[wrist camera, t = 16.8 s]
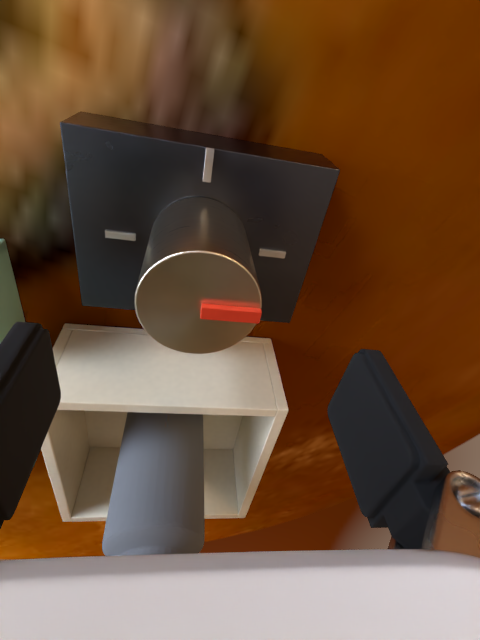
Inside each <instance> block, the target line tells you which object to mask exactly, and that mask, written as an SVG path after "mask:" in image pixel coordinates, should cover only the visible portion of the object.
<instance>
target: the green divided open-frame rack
mask: <svg viewBox="0 0 480 640" xmlns="http://www.w3.org/2000/svg"><path fill="white" fill-rule="evenodd" d="M16 322H25V318H24V314H23V310H22V306H21V302H20V298H19V294H18V290H17V286H16V282H15V278H14V274H13V270H12V266H11V262H10V258H9V254H8V250H7V246H6V242H5V239H0V343H1V342H2V341H3V339H4V338H5V336H6V335H7V333H8V332H9V331H10V329H11V328H12V326H13V325H14V324H15V323H16ZM36 460H37V459H36ZM34 465H35V464H34ZM33 467H34V466H33Z"/></svg>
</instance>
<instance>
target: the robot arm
mask: <svg viewBox="0 0 480 640" xmlns="http://www.w3.org/2000/svg"><path fill="white" fill-rule="evenodd" d="M60 400H61V390H60V385H59V380H58V374H57V369H56V364H55V359H54V354H53V349H52V344H51V339H50V334H49V331H48V329H43V327H42V325H41V324H39V323H28V322H16V323H15V324H14V325H13V326H12V328H11V329H10V331H9V332H8V333H7V335H6V336H5V338H4V339H3V341H2V342H1V343H0V528H1V526H2V524H3V521H4V520H9V519H11V517H12V516H13V514H14V512H15V510H16V507H17V505H18V502H19V500H20V498H21V495H22V493H23V490H24V488H25V486H26V483H27V481H28V478H29V476H30V474H31V471H32V469H33V466H34V464H35V462H36V459H37V457H38V454H39V452H40V449H41V447H42V445H43V442H44V440H45V437H46V435H47V433H48V430H49V428H50V425H51V423H52V421H53V418H54V416H55V413H56V411H57V409H58V406H59V403H60ZM328 417H329V420H330V423H331V426H332V428H333V431H334V434H335V437H336V440H337V443H338V446H339V449H340V452H341V455H342V457H343V460H344V463H345V466H346V469H347V472H348V475H349V478H350V481H351V484H352V486H353V489H354V492H355V495H356V498H357V501H358V504H359V506H360V509H361V512H362V514H363V515H364V516H365V517H367V518H368V520H369V523H370V526H371V528H377V527H378V528H381V527H388V528H389V530H390V533H391V535H392V537H391V540H390V543H389V546H388V549H359V550H317V551H316V550H314V551H313V550H312V551H272V552H271V551H270V552H230V553H192V554H157V555H125V556H92V557H64V558H43V559H23V560H2V561H0V640H480V479H479V478H478V477H476V476H474V475H472V474H470V473H468V472H464V471H460V470H459V471H452V472H450V471H449V469H448V468H447V465H448V463H447V461H446V460H445V458H444V456H443V455H442V453H441V451H440V449H439V448H438V446H437V444H436V443H435V441H434V439H433V438H432V436H431V434H430V433H429V431H428V429H427V428H426V426H425V424H424V423H423V421H422V419H421V418H420V416H419V414H418V413H417V411H416V409H415V408H414V406H413V404H412V403H411V401H410V399H409V398H408V396H407V394H406V393H405V391H404V389H403V388H402V386H401V384H400V383H399V381H398V379H397V378H396V376H395V374H394V373H393V371H392V369H391V368H390V366H389V364H388V363H387V361H386V359H385V358H384V356H383V354H382V353H381V352H380V351H378V350H366V349H361V350H360V351H359V352H358V353H355V354H354V355H353V357H352V359H351V361H350V363H349V365H348V367H347V369H346V371H345V373H344V375H343V377H342V379H341V381H340V383H339V385H338V387H337V389H336V391H335V393H334V395H333V397H332V399H331V401H330V403H329V405H328Z"/></svg>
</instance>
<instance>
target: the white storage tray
mask: <svg viewBox="0 0 480 640" xmlns="http://www.w3.org/2000/svg"><path fill="white" fill-rule="evenodd" d="M52 349H53V354H54V359H55V364H56V369H57V374H58V380H59V385H60V390H61V400H60V403H59V406H58V409H57V411H56V413H55V416H54V418H53V421H52V423H51V425H50V428H49V430H48V433H47V435H46V437H45V440H44V442H43V445H42V447H41V450H42V454H43V457H44V461H45V464H46V467H47V471H48V474H49V477H50V481H51V484H52V487H53V491H54V494H55V497H56V501H57V504H58V508H59V511H60V514H61V518H62V521H63V522H66V521H73V522H75V521H106V520H107V514H108V509H109V504H110V498H111V493H112V488H113V483H114V478H115V473H116V468H117V463H118V457H119V452H120V447H121V442H122V437H123V432H124V427H125V422H126V417H127V413H128V412H140V413H171V414H202V415H203V436H204V519H211V518H245V517H246V514H247V512H248V509H249V507H250V504H251V502H252V499H253V497H254V494H255V492H256V490H257V487H258V485H259V482H260V480H261V477H262V475H263V472H264V470H265V467H266V465H267V462H268V460H269V458H270V455H271V453H272V450H273V448H274V445H275V443H276V440H277V438H278V435H279V433H280V430H281V428H282V426H283V423H284V421H285V418H286V416H287V413H288V411H289V410H288V406H287V402H286V398H285V394H284V390H283V385H282V381H281V377H280V373H279V369H278V365H277V361H276V357H275V353H274V349H273V345H272V341H271V339H270V338H257V337H245V338H244V339H242V340H241V341H240V342H238V343H237V344H235V345H233V346H231V347H229V348H227V349H224V350H221V351H218V352H213V353H206V354H191V353H184V352H179V351H176V350H173V349H170V348H168V347H166V346H164V345H162V344H160V343H159V342H157V341H156V340H154V339H153V338H152V337H151V336H150V335H149V334H148V333H147V332H146V331H145V330H144V329H135V328H122V327H108V326H95V325H81V324H67V323H65V324H64V326H63V328H62V330H61V332H60V334H59V336H58V338H57V340H56V342H55V344H54V346H53V348H52Z"/></svg>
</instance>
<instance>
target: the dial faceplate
mask: <svg viewBox="0 0 480 640" xmlns="http://www.w3.org/2000/svg"><path fill="white" fill-rule="evenodd" d="M60 127H61V135H62V143H63V152H64V160H65V168H66V176H67V185H68V193H69V201H70V209H71V218H72V226H73V234H74V243H75V251H76V259H77V267H78V276H79V284H80V292H81V301H82V305H83V306H94V307H106V308H118V309H130V310H135V305H134V298H135V291H136V287H137V284H138V280H139V276H140V272H141V268H142V265H143V261H144V257H145V253H146V249H147V246H148V242H149V238H150V234H151V230H152V227H153V225H154V222H155V220H156V219H157V217H158V216H159V215H160V213H161V212H162V211H163V210H164V209H165V208H166V207H168V206H169V205H171V204H172V203H175V202H177V201H179V200H182V199H185V198H191V197H203V198H209V199H213V200H216V201H218V202H220V203H222V204H224V205H226V206H227V207H229V208H230V209H231V210H232V211H233V212H234V213H235V214H236V215H237V216H238V217H239V219H240V221H241V222H242V224H243V226H244V229H245V232H246V236H247V240H248V244H249V248H250V251H251V255H252V259H253V263H254V267H255V271H256V275H257V279H258V283H259V287H260V291H261V296H262V308H261V311H262V315H261V319H260V320H263V321H275V322H287V323H290V320H291V317H292V314H293V311H294V308H295V305H296V302H297V299H298V296H299V293H300V290H301V287H302V284H303V281H304V278H305V275H306V272H307V269H308V266H309V263H310V260H311V257H312V254H313V251H314V248H315V245H316V241H317V238H318V235H319V232H320V229H321V226H322V223H323V220H324V217H325V214H326V211H327V208H328V205H329V202H330V199H331V196H332V193H333V190H334V187H335V184H336V181H337V178H338V175H339V172H340V169H338V168H337V167H336V166H335V165H334V164H333V163H331V162H330V161H329V160H328V159H327V158H326V157H324V156H323V155H322V154H317V153H312V152H306V151H300V150H295V149H289V148H283V147H278V146H272V145H266V144H261V143H255V142H249V141H244V140H238V139H232V138H227V137H221V136H216V135H210V134H204V133H199V132H193V131H187V130H182V129H176V128H170V127H165V126H159V125H153V124H148V123H142V122H136V121H131V120H125V119H120V118H114V117H108V116H103V115H97V114H91V113H86V112H79V113H77V114H75V115H73V116H71V117H69V118H67V119H65V120H64V121H62V122H60Z"/></svg>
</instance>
